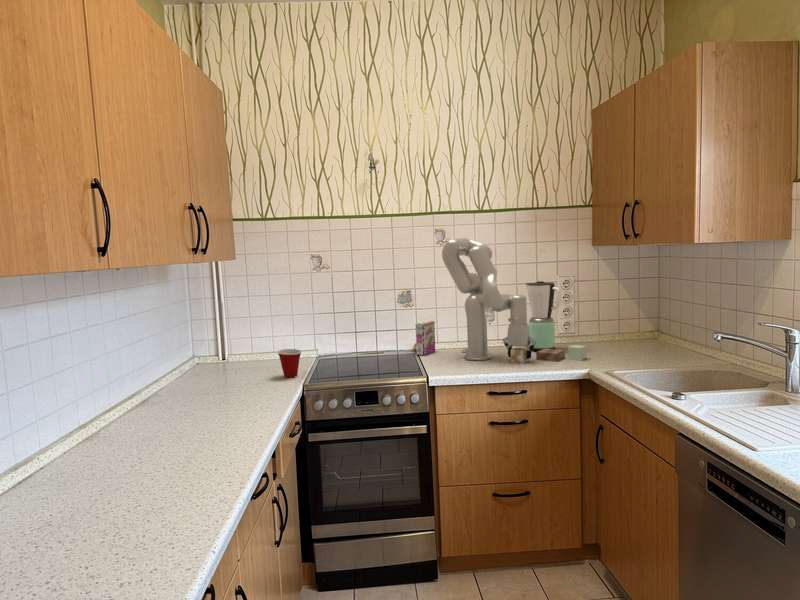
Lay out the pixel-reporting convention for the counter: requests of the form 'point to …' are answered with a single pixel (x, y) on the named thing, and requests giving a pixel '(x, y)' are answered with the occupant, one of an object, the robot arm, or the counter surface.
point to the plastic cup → (289, 361)
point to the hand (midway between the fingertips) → (519, 357)
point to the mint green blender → (542, 313)
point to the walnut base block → (550, 355)
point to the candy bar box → (425, 338)
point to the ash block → (518, 355)
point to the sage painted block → (577, 352)
